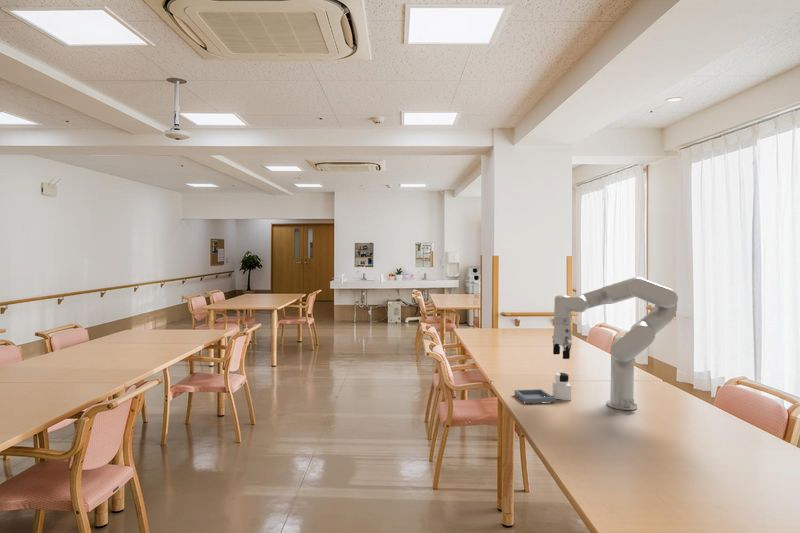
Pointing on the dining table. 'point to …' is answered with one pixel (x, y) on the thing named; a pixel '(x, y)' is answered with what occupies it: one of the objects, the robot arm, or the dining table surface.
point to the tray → (533, 396)
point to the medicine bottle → (561, 387)
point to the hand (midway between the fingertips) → (561, 356)
